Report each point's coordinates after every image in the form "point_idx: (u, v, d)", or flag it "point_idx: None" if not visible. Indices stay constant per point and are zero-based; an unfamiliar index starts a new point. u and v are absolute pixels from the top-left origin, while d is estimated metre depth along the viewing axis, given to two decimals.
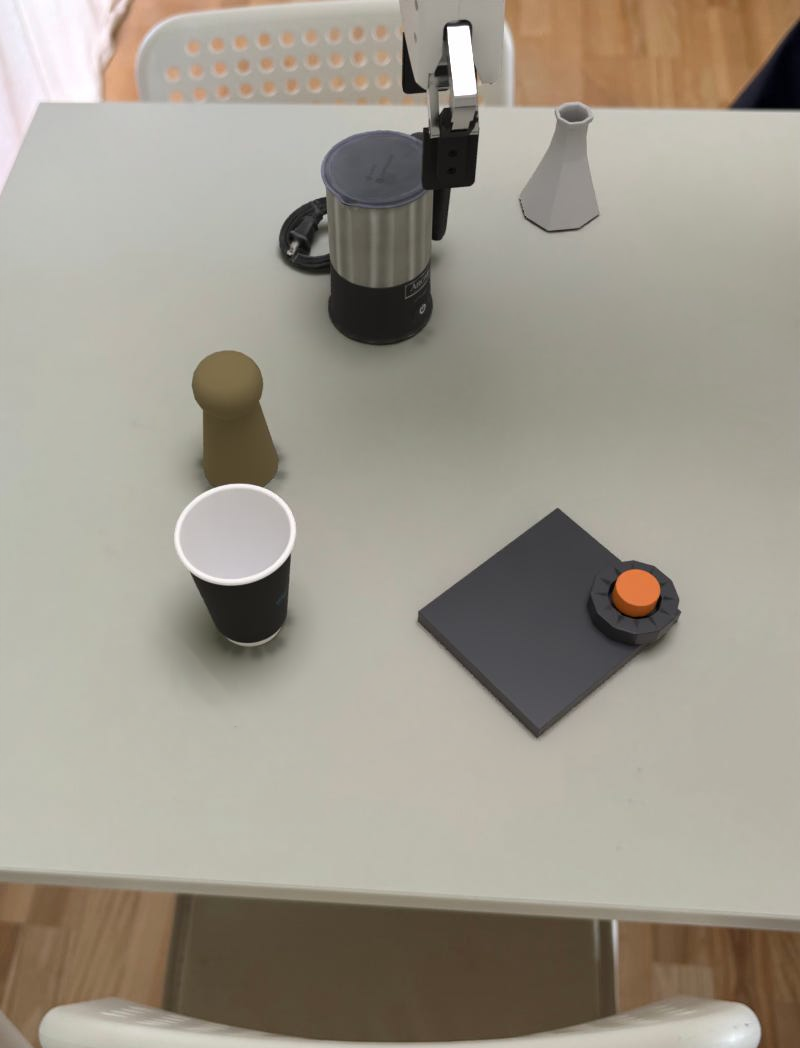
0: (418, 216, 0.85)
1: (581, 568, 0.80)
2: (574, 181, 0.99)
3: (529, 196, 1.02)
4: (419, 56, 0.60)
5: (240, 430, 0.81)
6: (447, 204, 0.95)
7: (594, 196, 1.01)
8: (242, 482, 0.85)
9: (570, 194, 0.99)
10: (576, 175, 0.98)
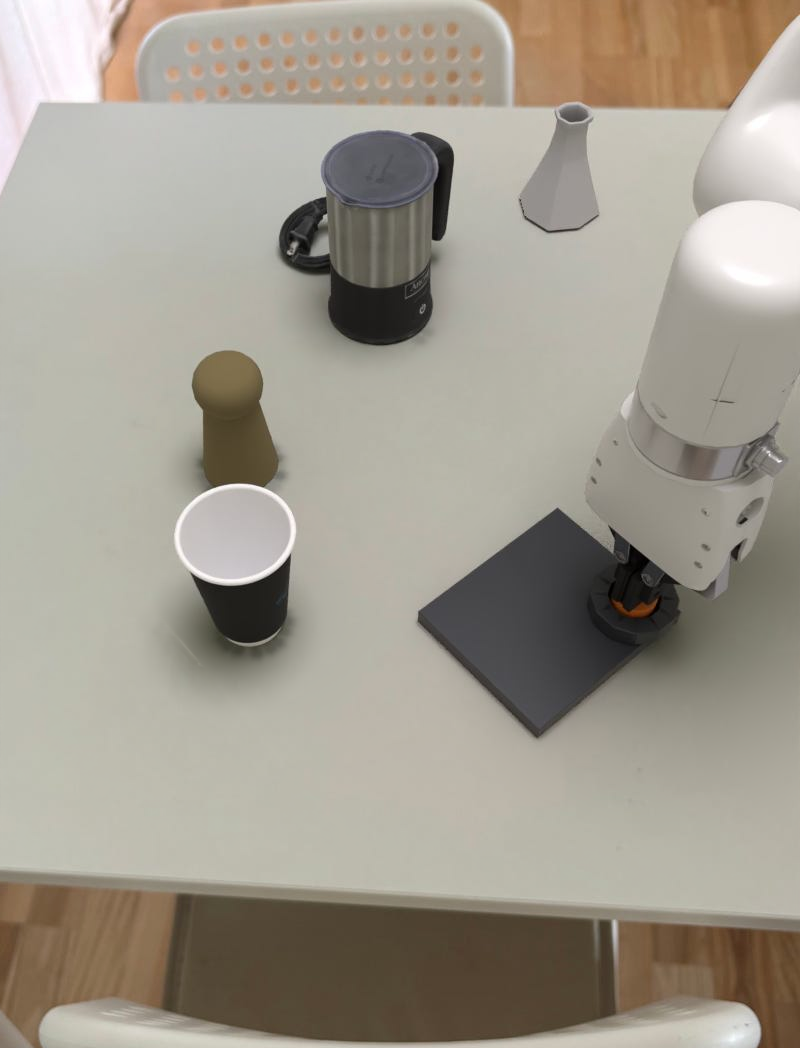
0: (418, 216, 0.85)
1: (581, 568, 0.80)
2: (574, 181, 0.99)
3: (529, 196, 1.02)
4: (703, 576, 0.65)
5: (240, 430, 0.81)
6: (447, 204, 0.95)
7: (594, 196, 1.01)
8: (242, 482, 0.85)
9: (570, 194, 0.99)
10: (576, 175, 0.98)
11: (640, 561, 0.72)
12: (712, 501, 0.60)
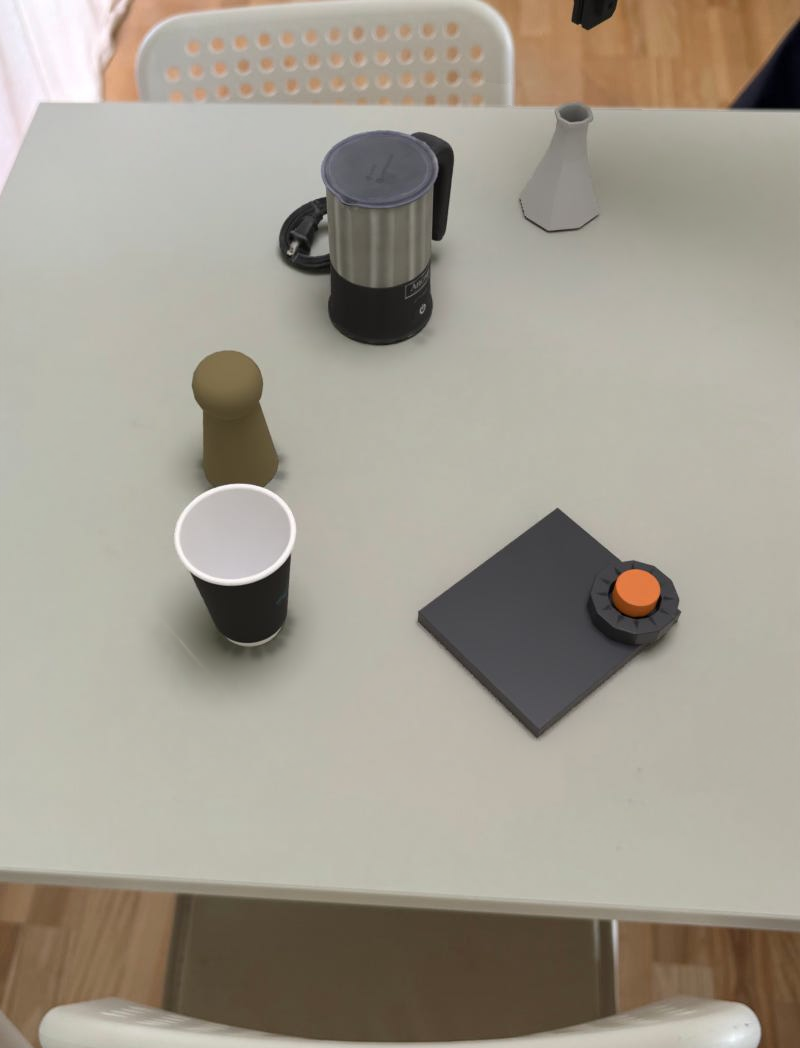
0: (418, 216, 0.85)
1: (581, 568, 0.80)
2: (574, 181, 0.99)
3: (529, 196, 1.02)
4: None
5: (240, 430, 0.81)
6: (447, 204, 0.95)
7: (594, 196, 1.01)
8: (242, 482, 0.85)
9: (570, 194, 0.99)
10: (576, 175, 0.98)
11: None
12: None
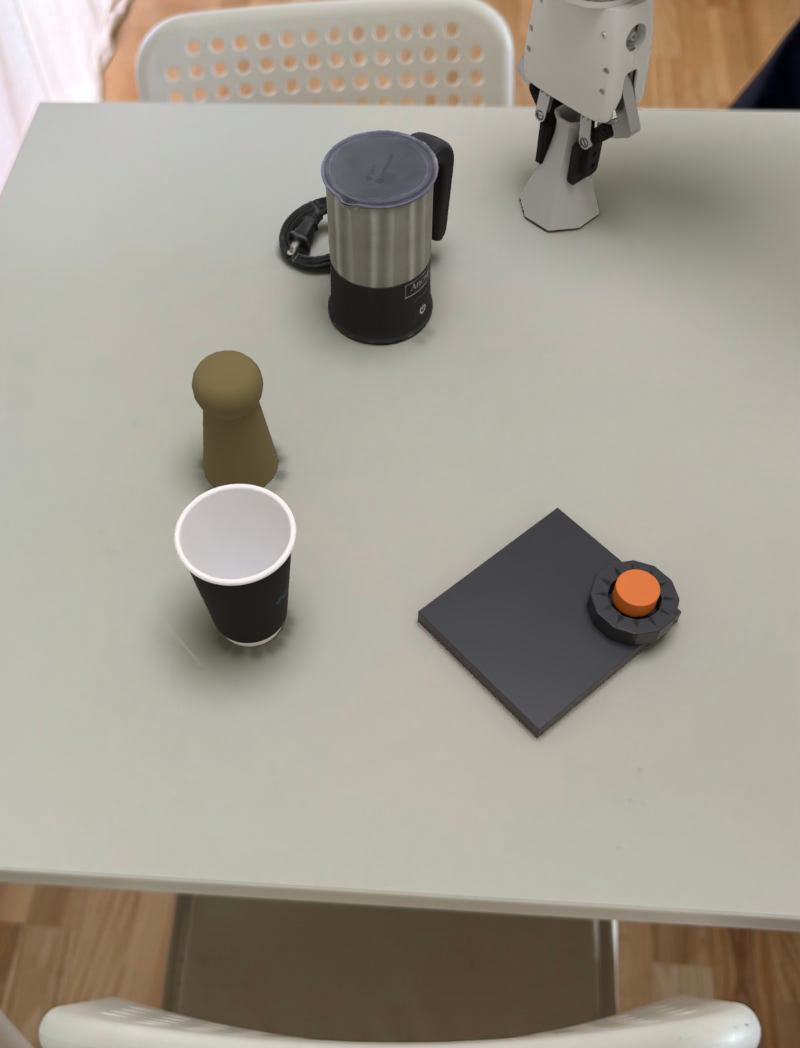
0: (418, 216, 0.85)
1: (581, 568, 0.80)
2: None
3: (529, 196, 1.02)
4: (607, 102, 0.89)
5: (240, 430, 0.81)
6: (447, 204, 0.95)
7: (594, 196, 1.01)
8: (242, 482, 0.85)
9: (570, 194, 0.99)
10: None
11: (555, 120, 0.97)
12: (607, 22, 0.84)
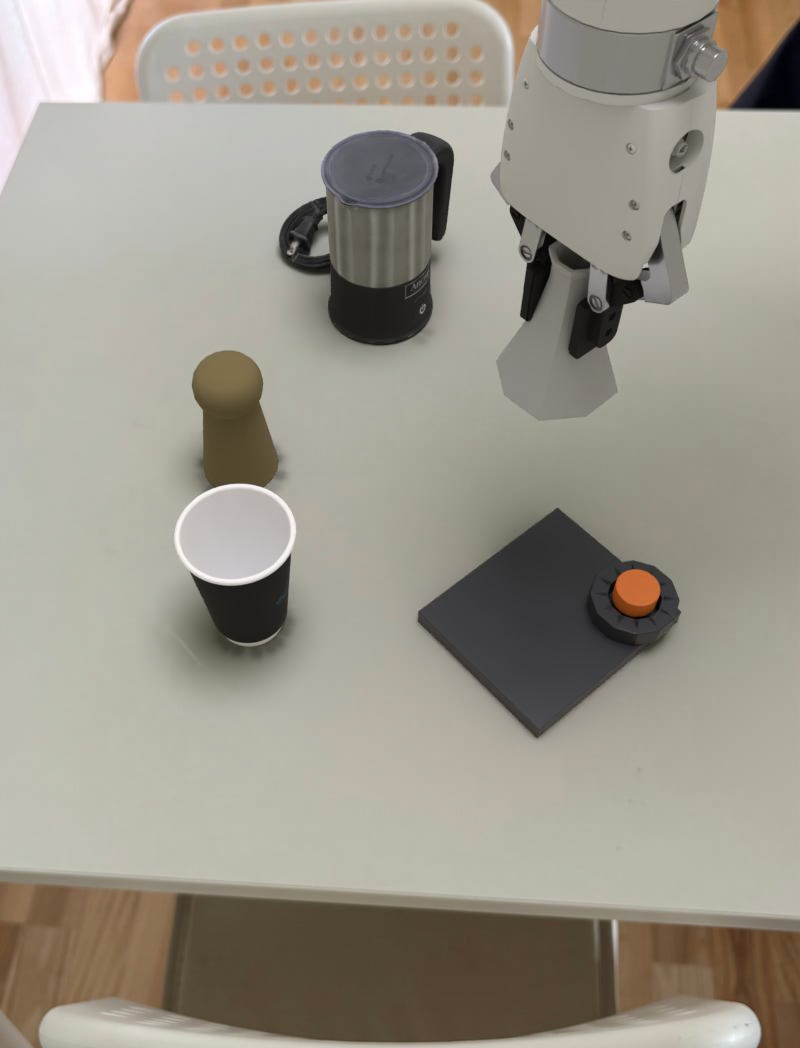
0: (418, 216, 0.85)
1: (581, 568, 0.80)
2: None
3: (510, 365, 0.67)
4: (634, 252, 0.54)
5: (240, 430, 0.81)
6: (447, 204, 0.95)
7: (610, 369, 0.65)
8: (242, 482, 0.85)
9: (573, 369, 0.64)
10: None
11: (550, 260, 0.62)
12: (638, 129, 0.49)
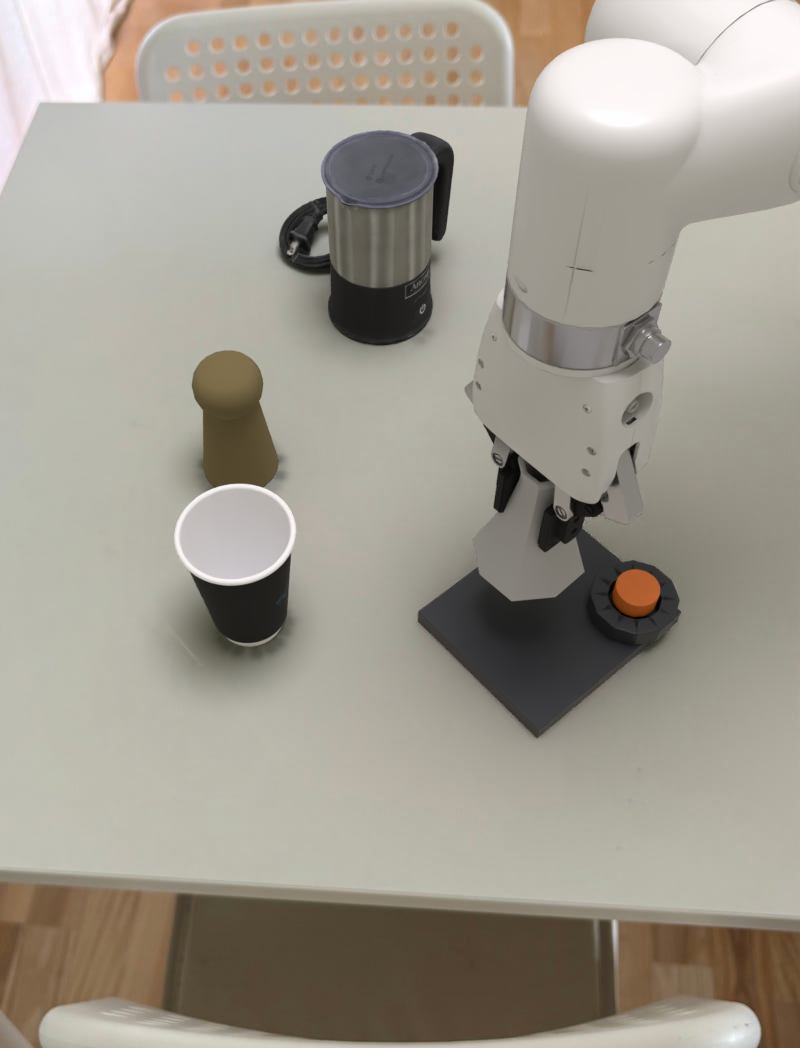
0: (418, 216, 0.85)
1: None
2: None
3: (485, 548, 0.72)
4: (593, 485, 0.59)
5: (240, 430, 0.81)
6: (447, 204, 0.95)
7: (577, 554, 0.71)
8: (242, 482, 0.85)
9: (542, 559, 0.70)
10: None
11: None
12: (592, 395, 0.54)
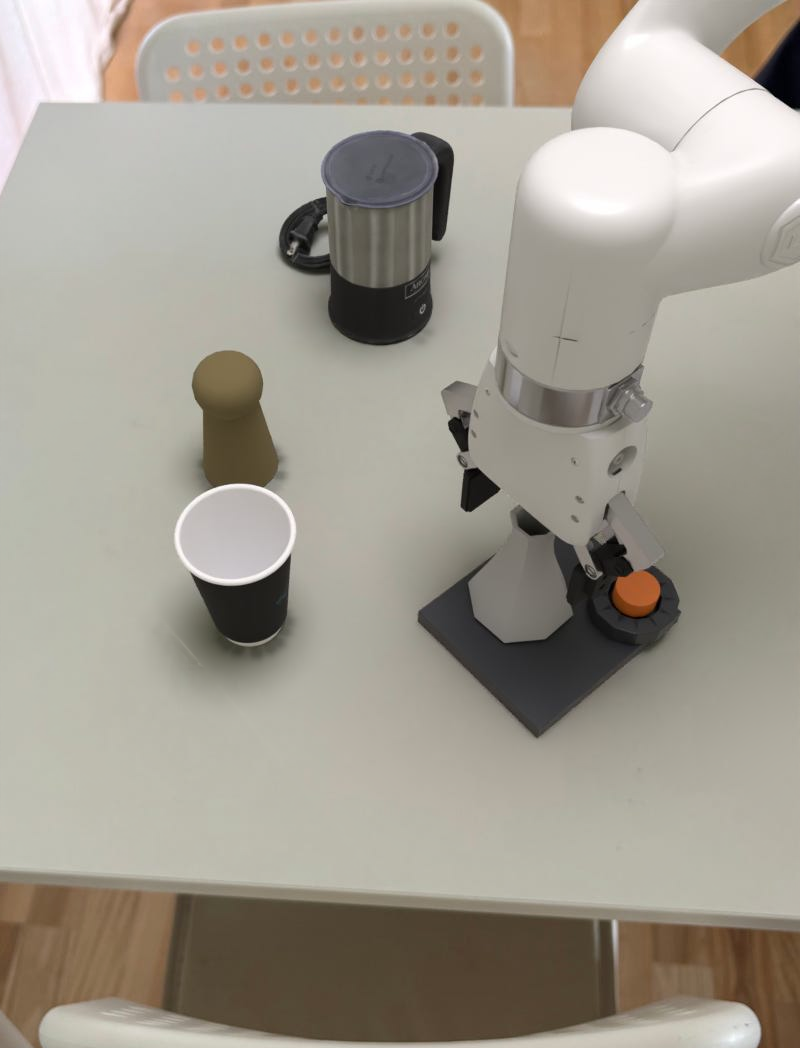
0: (418, 216, 0.85)
1: None
2: (538, 591, 0.73)
3: (479, 593, 0.77)
4: (581, 530, 0.63)
5: (240, 430, 0.81)
6: (447, 204, 0.95)
7: (566, 599, 0.76)
8: (242, 482, 0.85)
9: (532, 604, 0.74)
10: (541, 585, 0.73)
11: None
12: (580, 449, 0.58)
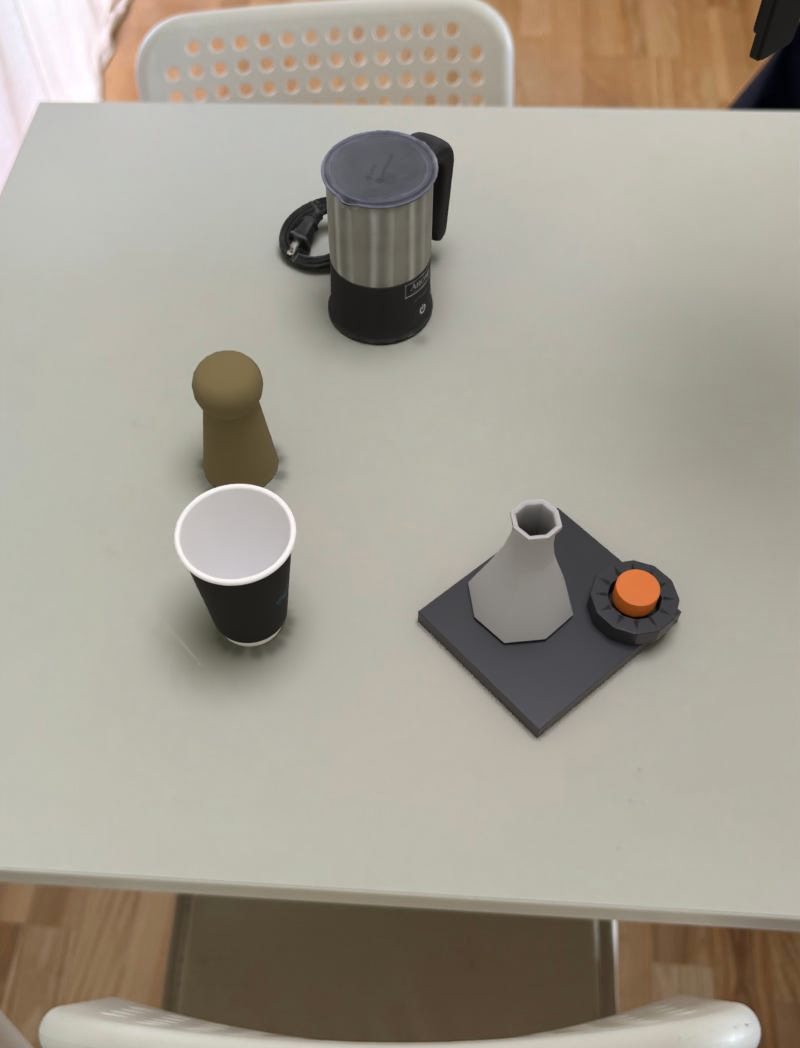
0: (418, 216, 0.85)
1: (581, 568, 0.80)
2: (538, 591, 0.73)
3: (479, 593, 0.77)
4: None
5: (240, 430, 0.81)
6: (447, 204, 0.95)
7: (566, 599, 0.76)
8: (242, 482, 0.85)
9: (532, 604, 0.74)
10: (541, 585, 0.73)
11: None
12: None
